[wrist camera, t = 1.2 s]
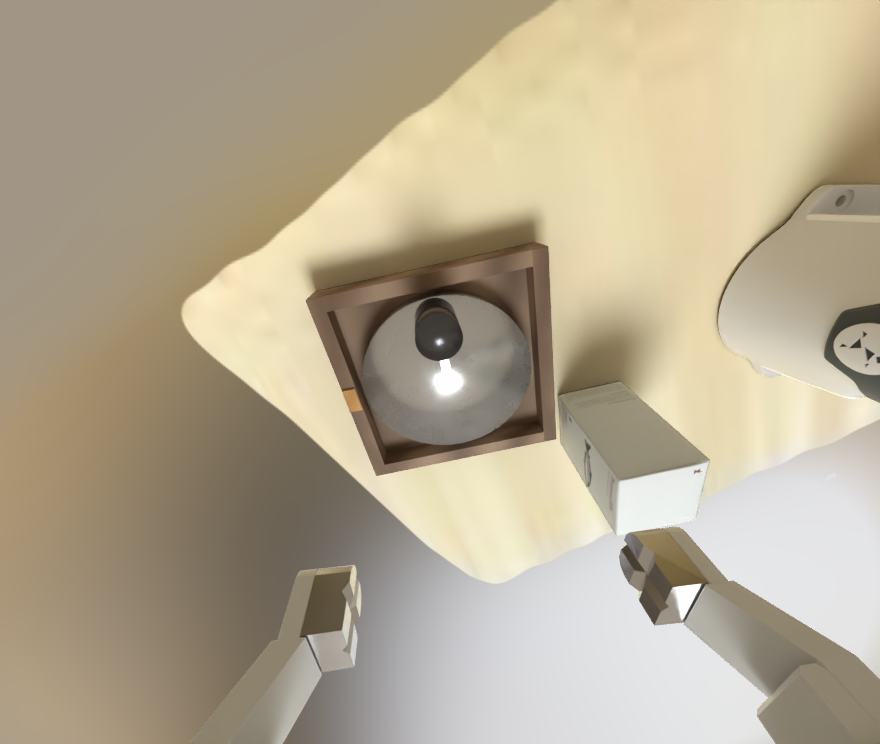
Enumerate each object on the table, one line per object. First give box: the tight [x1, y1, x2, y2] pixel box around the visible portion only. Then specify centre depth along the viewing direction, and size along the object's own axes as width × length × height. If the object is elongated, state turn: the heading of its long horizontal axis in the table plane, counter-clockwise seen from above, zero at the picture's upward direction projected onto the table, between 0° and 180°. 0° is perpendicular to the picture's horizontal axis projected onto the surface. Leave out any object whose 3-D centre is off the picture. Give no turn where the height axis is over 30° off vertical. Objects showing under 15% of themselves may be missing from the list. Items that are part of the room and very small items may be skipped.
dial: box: [363, 290, 531, 445], centre depth 30 cm, size 16×16×7 cm
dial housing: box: [306, 242, 556, 476], centre depth 32 cm, size 20×20×3 cm
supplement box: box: [558, 381, 710, 536], centre depth 32 cm, size 7×7×13 cm
